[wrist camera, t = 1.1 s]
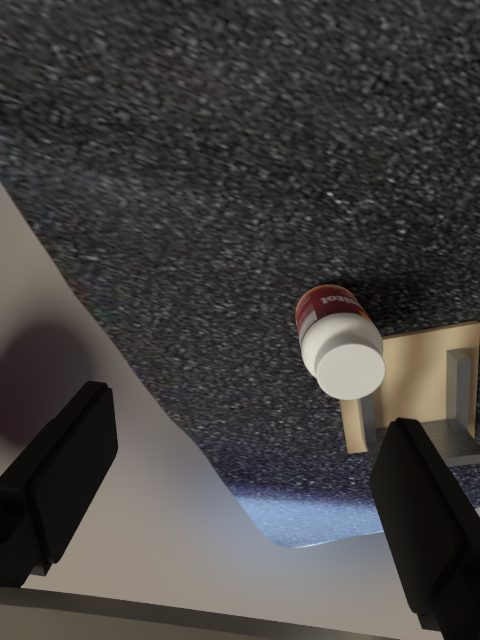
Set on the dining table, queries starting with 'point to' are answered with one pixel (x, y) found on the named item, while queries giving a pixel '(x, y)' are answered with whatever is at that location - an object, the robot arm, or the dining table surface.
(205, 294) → the dining table surface
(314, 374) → the pill bottle
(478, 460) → the gunmetal guide rail
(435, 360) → the maple board
